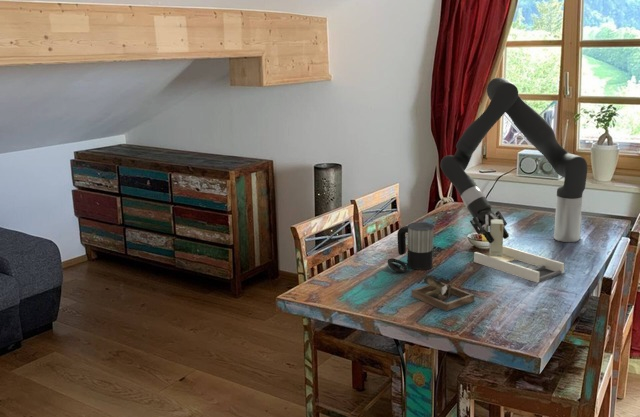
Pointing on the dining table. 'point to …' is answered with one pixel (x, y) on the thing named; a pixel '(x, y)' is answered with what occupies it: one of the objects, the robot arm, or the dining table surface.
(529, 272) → the channel
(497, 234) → the skincare box
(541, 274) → the tray
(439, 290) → the eagle figurine
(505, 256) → the pad
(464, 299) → the display frame
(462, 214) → the dining table surface
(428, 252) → the milk frother
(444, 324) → the dining table surface
